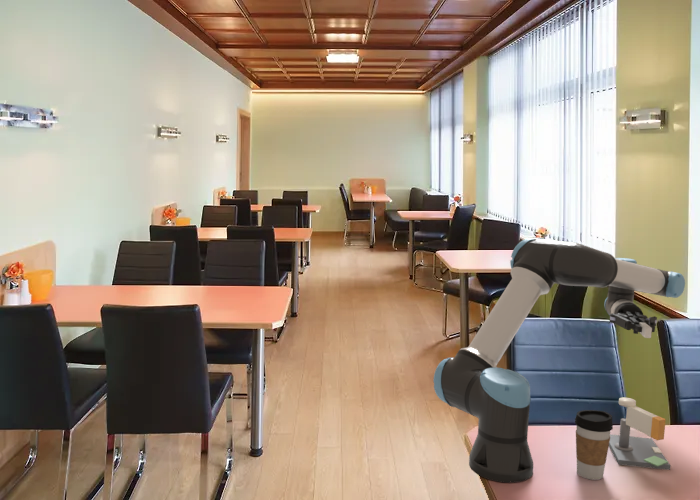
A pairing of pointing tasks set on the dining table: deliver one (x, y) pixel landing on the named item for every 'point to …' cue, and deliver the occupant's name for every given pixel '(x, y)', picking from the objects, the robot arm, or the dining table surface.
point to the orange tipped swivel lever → (639, 422)
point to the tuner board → (638, 453)
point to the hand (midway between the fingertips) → (648, 332)
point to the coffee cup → (592, 442)
